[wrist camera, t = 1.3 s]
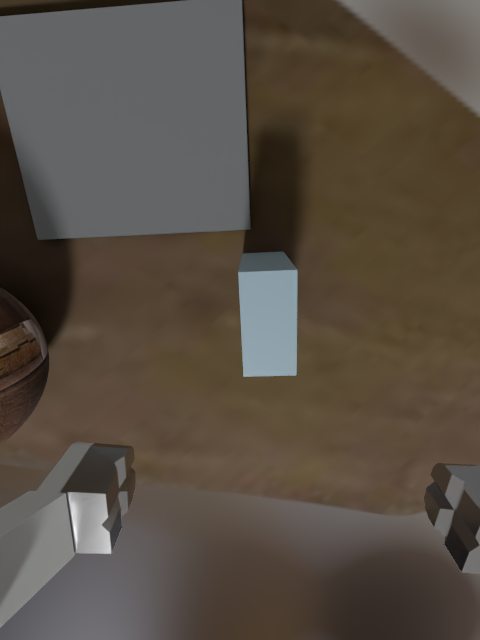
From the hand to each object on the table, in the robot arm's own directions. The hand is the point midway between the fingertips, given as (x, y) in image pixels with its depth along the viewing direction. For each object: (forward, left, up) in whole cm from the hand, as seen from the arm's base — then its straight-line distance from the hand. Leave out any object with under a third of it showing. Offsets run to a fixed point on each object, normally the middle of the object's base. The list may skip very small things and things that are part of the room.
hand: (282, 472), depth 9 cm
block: (0, 0, -21) cm, 21 cm away
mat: (+10, -13, -21) cm, 26 cm away
